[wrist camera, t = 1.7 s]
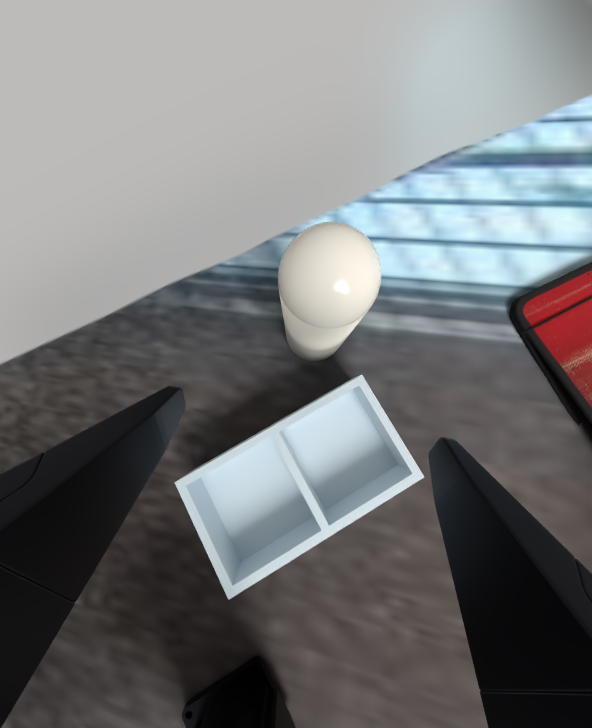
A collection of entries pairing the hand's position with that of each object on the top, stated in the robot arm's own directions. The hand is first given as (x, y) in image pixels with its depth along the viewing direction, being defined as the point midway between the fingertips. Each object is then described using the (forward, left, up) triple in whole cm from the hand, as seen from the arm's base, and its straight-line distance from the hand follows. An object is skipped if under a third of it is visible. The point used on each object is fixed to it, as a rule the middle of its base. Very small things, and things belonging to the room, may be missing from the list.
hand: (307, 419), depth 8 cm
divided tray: (-3, -4, -13) cm, 14 cm away
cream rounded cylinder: (+4, +5, -13) cm, 15 cm away
